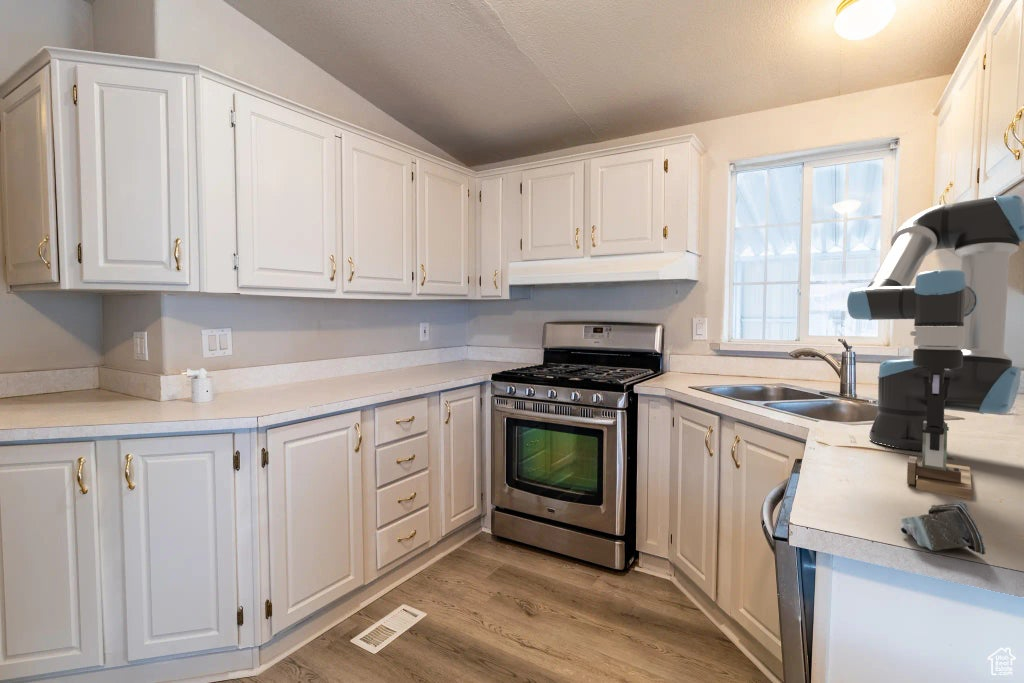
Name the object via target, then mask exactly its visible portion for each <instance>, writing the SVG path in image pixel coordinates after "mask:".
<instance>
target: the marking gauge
mask: <svg viewBox="0 0 1024 683" xmlns="http://www.w3.org/2000/svg"><path fill="white" fill-rule="evenodd" d="M926 426H927V421H924V422H923V430H926ZM947 427H948V422H945V423H943V428H944V433H943V434H944V455H943V467H936V466H929V465H925V449H926V433H923V450H922V451H921V453H922V457H921V458H922V459H921V462H922V464H921V463H918V457H917V456H913V455H912V456H911V455H910V456H908V460H907V465H906V466H907V467H906V469H907V470H906V471H907V473H906V477H907V478H906V484H908V485H915V486H916V480H917V477H918V476H922V477H928V478H935V479H941V480H947V481H953V482H959V483H961V470H959V468H956V467H954V469H952V468H946V464H947V456H948V455H947V453H948V448H947V447H948V431H947Z"/></svg>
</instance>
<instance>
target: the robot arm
mask: <svg viewBox="0 0 1024 683" xmlns="http://www.w3.org/2000/svg"><path fill="white" fill-rule="evenodd" d="M890 242H891V243H890V244H891V246H890V247H891V248H890V250H889V251H888V252H887V254H886V256H885V257H884V259H883V261H882V262H881V264H880V266H879V268H878V269H877V271H876V273H875V274H874V276H873V278H872V279H871V280H870V283H869V284H868V285H867V287H860V288H854V289H852V290H851V291H850V292H849V294H848V296H847V300H846V301H847V302H846V304H847V306H846V307H847V311H848V314H849V316H850V317H851V319H854V320H868V321H873V320H874V321H876V320H881V321H882V320H914V321H913V322H914V324H913V326H914V330H913V331H910V333H909V335H910V336H911V337H914V338H913V345H914V346H915V347H917V348H914V350H912V351H913V353H912V354H913V355H912V358H906V359H905V358H904V359H903V358H900V359H890V360H884V361H882V362H881V363H880V365H879V367H878V369H879V370H878V376H877V379H878V385H877V386H878V387H877V389H878V390H877V391H878V392H877V393H878V394H877V396H878V398H877V406H878V407H877V413H876V414H877V415H876V416H875V419H874V421H873V424H872V426H871V428H870V430H869V438H870V439H871V440H872V441H874V442H877V443H882V444H886V445H890V446H894V447H898V448H897V449H900V448H903V449H902V450H908V449H912V450H911V451H919V450H921V452H922V450H923V433H926V449H925V465H929V466H936V467H943V455H944V434H943V433H944V428H943V423H946V422H945V410H946V411H947V410H948V411H957V412H964V413H965V412H966V413H974V414H981V415H985V414H987V415H999V416H1000V415H1005V414H1007V413H1009V412H1010V411H1011V410H1012V408H1013V406H1014V404H1015V401H1016V399H1017V397H1018V392H1019V387H1020V382H1021V375H1022V373H1021V372H1022V371H1021V369H1020V368H1019V367H1017V366H1016V365H1015V366H1014V365H1013V359H1012V358H1011V357H1009V356H1008V355H1007V354H1005V352H1004V351H1005V333H1006V320H1007V319H1006V318H1007V317H1006V316H1007V315H1006V314H1007V302H1008V286H1009V272H1010V257H1011V256H1012V255H1013V254H1015V253H1017V251H1019V249H1020V243H1024V200H1023V198H1022V197H1021V196H1019V195H1017V194H1008V195H998V196H997V195H994V196H990V197H984V198H977V199H972V200H964V201H959V202H953V203H946V204H945V203H944V204H939V205H935V206H931V207H930V208H928V209H925V210H923V211H921V212H918V213H917V214H916V215H914V216H912V217H911V218H909V219H908V220H907V221H905V222H904V223H902V225H901V226H900V227H898V229H897V230H896V231H895V233H894V234H893V236H892V238H891V241H890ZM942 249H954V254H955V255H956V256H957V257H958V258H960V259H961V265H960V266H961V267H960V268H961V269H960V270H959V269H943V270H942V269H941V270H929V271H923V272H922V271H921V272H920V273H918V271H919V269H920V268H921V266H922V264H923V262H924V261H925V259H926V257H927V256H929V255H930V254H932V253H933V252H934V251H936V250H942ZM917 273H918V274H917ZM915 277H916V278H915ZM914 279H915V283H914V284H915V285H912V282H913V280H914ZM924 421H927V426H926V430H923V422H924ZM949 429H950V428H949V426H947V432H948V431H949ZM949 432H950V431H949ZM869 438H868V439H869Z"/></svg>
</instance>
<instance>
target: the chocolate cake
mask: <svg viewBox="0 0 1024 683" xmlns="http://www.w3.org/2000/svg"><path fill="white" fill-rule="evenodd" d="M900 520H901V523H902V524H903V527H901V528H900V531H901V532H902V533H903V534H906V535H911V536H912V537H913V538H914V539H915V541H916V543H917V545H918V546H919V547H925V548H928V549H929V550H931V551H932V552H936V551H942V550H951V549H958V548H966V547H967V548H968V549H969V550H971V551H972V552H975V553H979V554H980V555H982V556H984V555H986V547H985V543H984V541H983V538H984V537H983V536H982V535H981V533H980V531H979V528H978V525H977V524H976V523H975V520H974V519H973V518H972V517H971V514H970V513H969V509H968V507H967V505H966V503H964V502H963V501H961V502H951V503H945V504H942V503H941V504H938V505H937V504H932V505H931V506H930V508H929V509H928V513H927V514H922V515H921V514H920V515H915V516H909V517H906V518H901V519H900Z"/></svg>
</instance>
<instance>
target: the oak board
mask: <svg viewBox="0 0 1024 683" xmlns="http://www.w3.org/2000/svg"><path fill="white" fill-rule="evenodd" d="M920 464H922V461H921V462H920ZM954 467H956V468H959V470H961V483H959V482H953V481H947V480H941V479H935V478H928V477H922V476H917V478H916V482H915V488H916V489H915V490H921V491H925V492H930V493H936V494H941V495H948V496H953V497H958V498H963V499H969V500H972V494H973V493H972V491H973V490H972V479H971V478H972V477H971V467H970V466H966V465H960V464H959V465H958V464H951V463H946V468H952V469H954Z"/></svg>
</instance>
